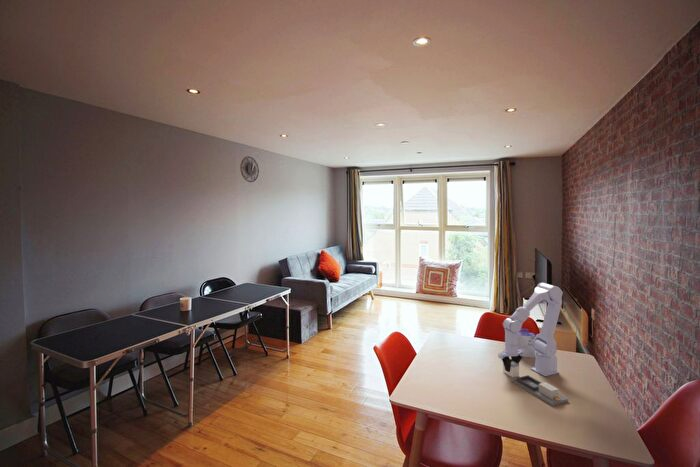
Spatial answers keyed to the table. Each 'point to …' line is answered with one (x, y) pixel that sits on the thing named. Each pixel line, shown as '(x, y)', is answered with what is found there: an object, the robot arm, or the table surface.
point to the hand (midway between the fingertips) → (511, 370)
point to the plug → (512, 369)
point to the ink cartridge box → (526, 343)
